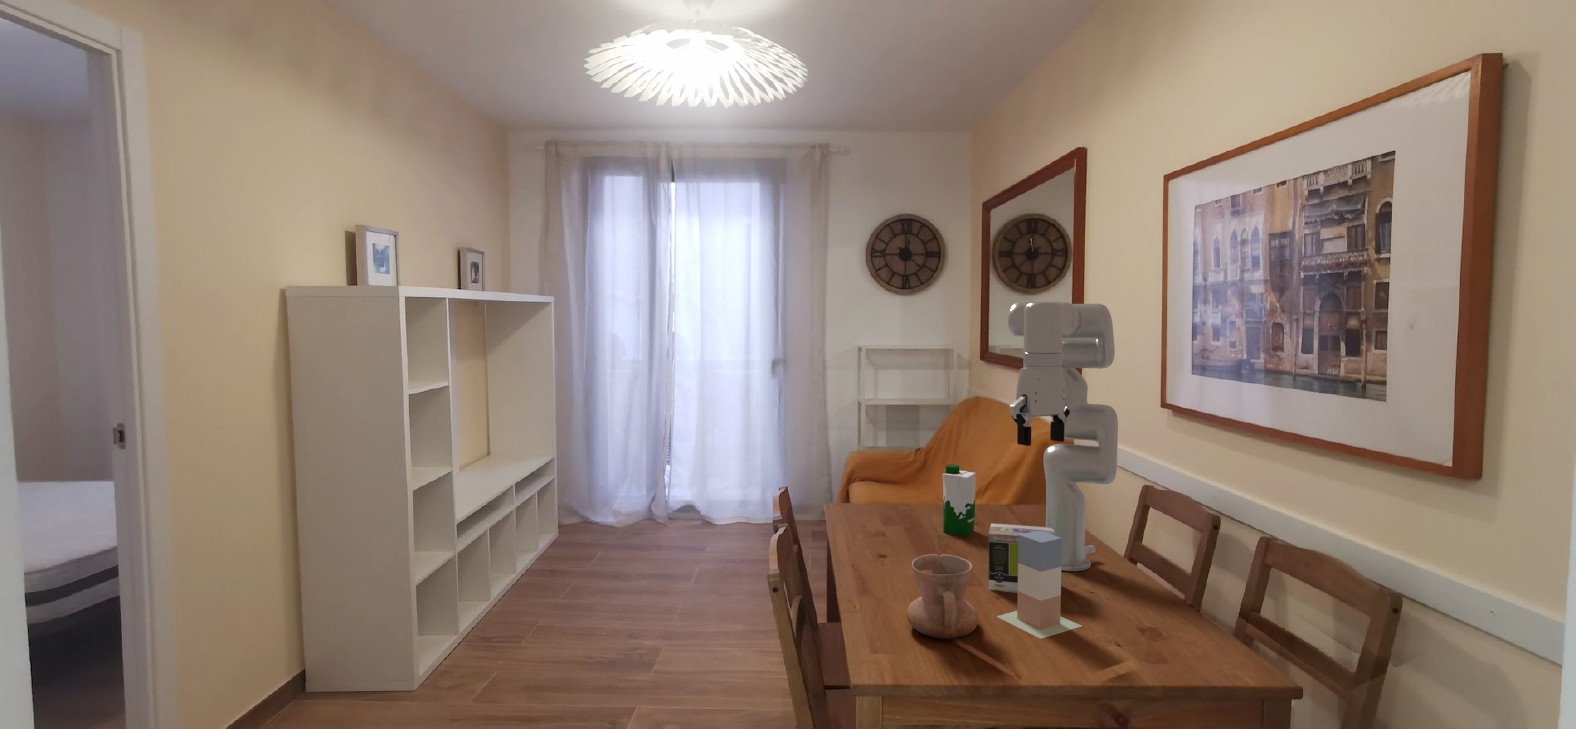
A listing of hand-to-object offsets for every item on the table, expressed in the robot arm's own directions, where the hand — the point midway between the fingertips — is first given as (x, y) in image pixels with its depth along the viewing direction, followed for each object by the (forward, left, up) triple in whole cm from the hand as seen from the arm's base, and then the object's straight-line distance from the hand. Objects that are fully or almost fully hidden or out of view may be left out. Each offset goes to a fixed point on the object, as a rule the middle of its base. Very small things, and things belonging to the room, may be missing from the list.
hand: (1040, 442), depth 148 cm
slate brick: (+2, +2, -25) cm, 25 cm away
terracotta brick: (+2, +2, -37) cm, 37 cm away
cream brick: (+2, +2, -31) cm, 31 cm away
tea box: (-10, -14, -39) cm, 42 cm away
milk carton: (-29, -57, -38) cm, 75 cm away
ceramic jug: (+21, -6, -39) cm, 44 cm away
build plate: (+2, +2, -38) cm, 38 cm away
